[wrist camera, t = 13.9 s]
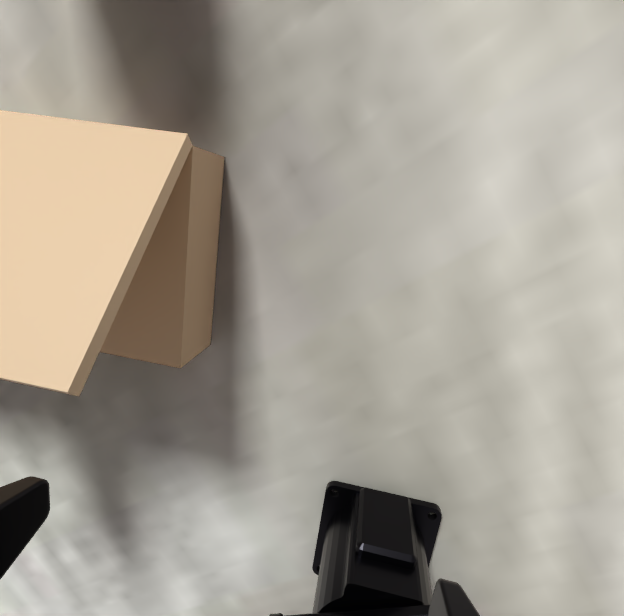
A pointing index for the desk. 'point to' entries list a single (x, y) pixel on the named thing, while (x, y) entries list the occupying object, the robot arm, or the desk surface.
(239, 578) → the desk surface
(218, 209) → the carton
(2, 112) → the lid flap
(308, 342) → the desk surface
